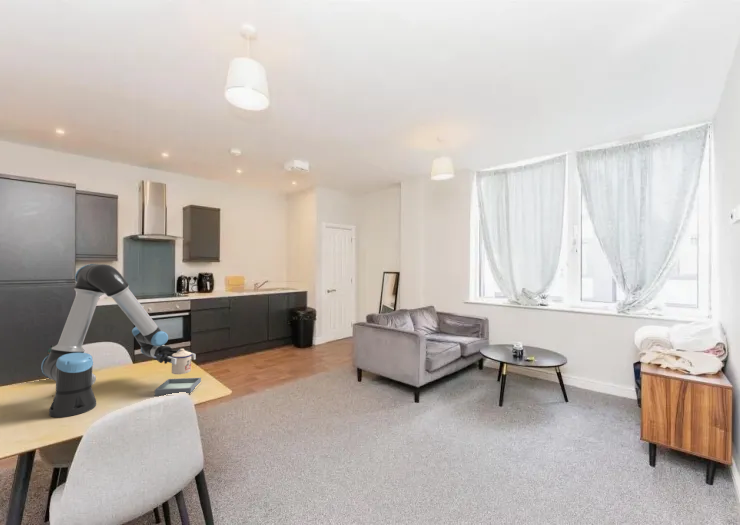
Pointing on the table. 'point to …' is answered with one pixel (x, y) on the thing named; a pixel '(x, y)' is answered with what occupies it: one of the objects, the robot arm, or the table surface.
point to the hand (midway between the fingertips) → (185, 359)
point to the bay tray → (177, 386)
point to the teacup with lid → (182, 362)
